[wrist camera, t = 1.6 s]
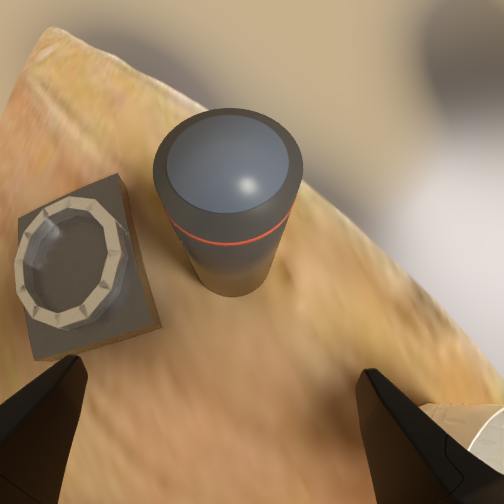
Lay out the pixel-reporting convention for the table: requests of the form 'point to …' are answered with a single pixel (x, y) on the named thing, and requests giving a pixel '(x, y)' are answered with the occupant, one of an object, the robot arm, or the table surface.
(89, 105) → the table surface
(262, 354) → the table surface
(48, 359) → the camera body
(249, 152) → the lens
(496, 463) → the white cup
